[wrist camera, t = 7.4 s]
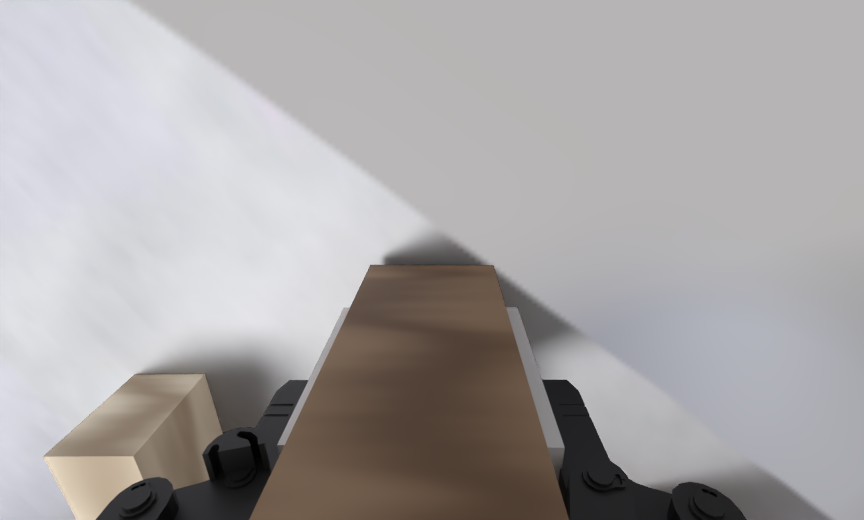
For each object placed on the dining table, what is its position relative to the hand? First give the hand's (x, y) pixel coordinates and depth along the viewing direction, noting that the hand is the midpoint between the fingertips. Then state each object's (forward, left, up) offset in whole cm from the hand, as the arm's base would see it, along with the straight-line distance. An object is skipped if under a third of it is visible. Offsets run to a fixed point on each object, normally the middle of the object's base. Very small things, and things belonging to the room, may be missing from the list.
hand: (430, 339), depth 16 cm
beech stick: (-13, -9, -3) cm, 16 cm away
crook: (+5, -9, -2) cm, 11 cm away
